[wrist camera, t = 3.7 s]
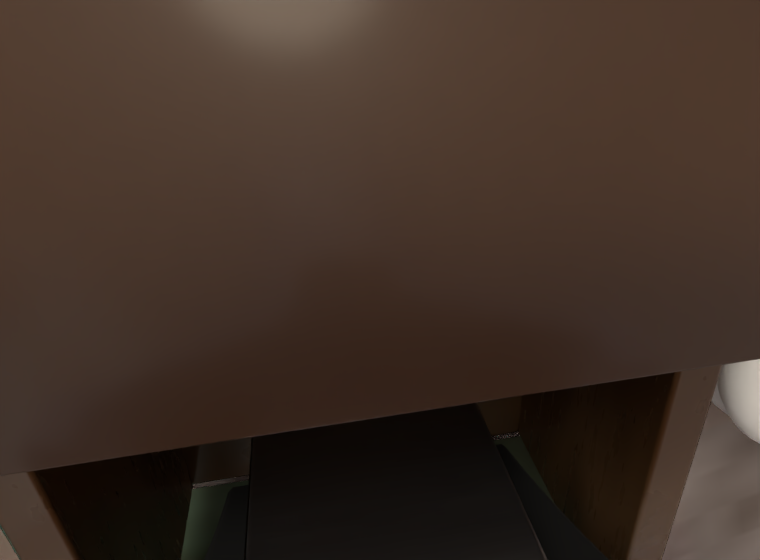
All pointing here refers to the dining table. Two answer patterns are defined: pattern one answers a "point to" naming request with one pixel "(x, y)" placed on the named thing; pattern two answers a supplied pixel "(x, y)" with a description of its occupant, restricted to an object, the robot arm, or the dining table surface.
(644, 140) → the cabinet
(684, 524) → the dining table surface
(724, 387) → the white ridged disc
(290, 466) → the cube with black handle
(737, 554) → the dining table surface
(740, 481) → the dining table surface
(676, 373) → the drawer
